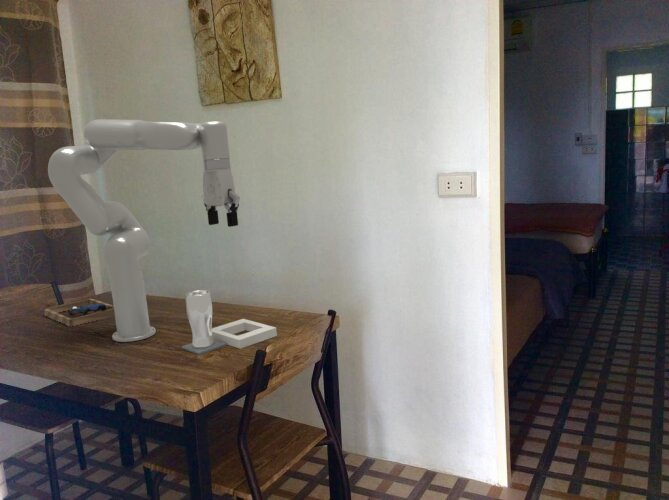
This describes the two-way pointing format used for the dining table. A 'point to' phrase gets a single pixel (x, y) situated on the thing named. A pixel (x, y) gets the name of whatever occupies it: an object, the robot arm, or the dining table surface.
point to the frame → (54, 315)
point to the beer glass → (200, 317)
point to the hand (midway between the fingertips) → (223, 225)
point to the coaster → (203, 350)
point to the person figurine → (88, 308)
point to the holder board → (254, 336)
